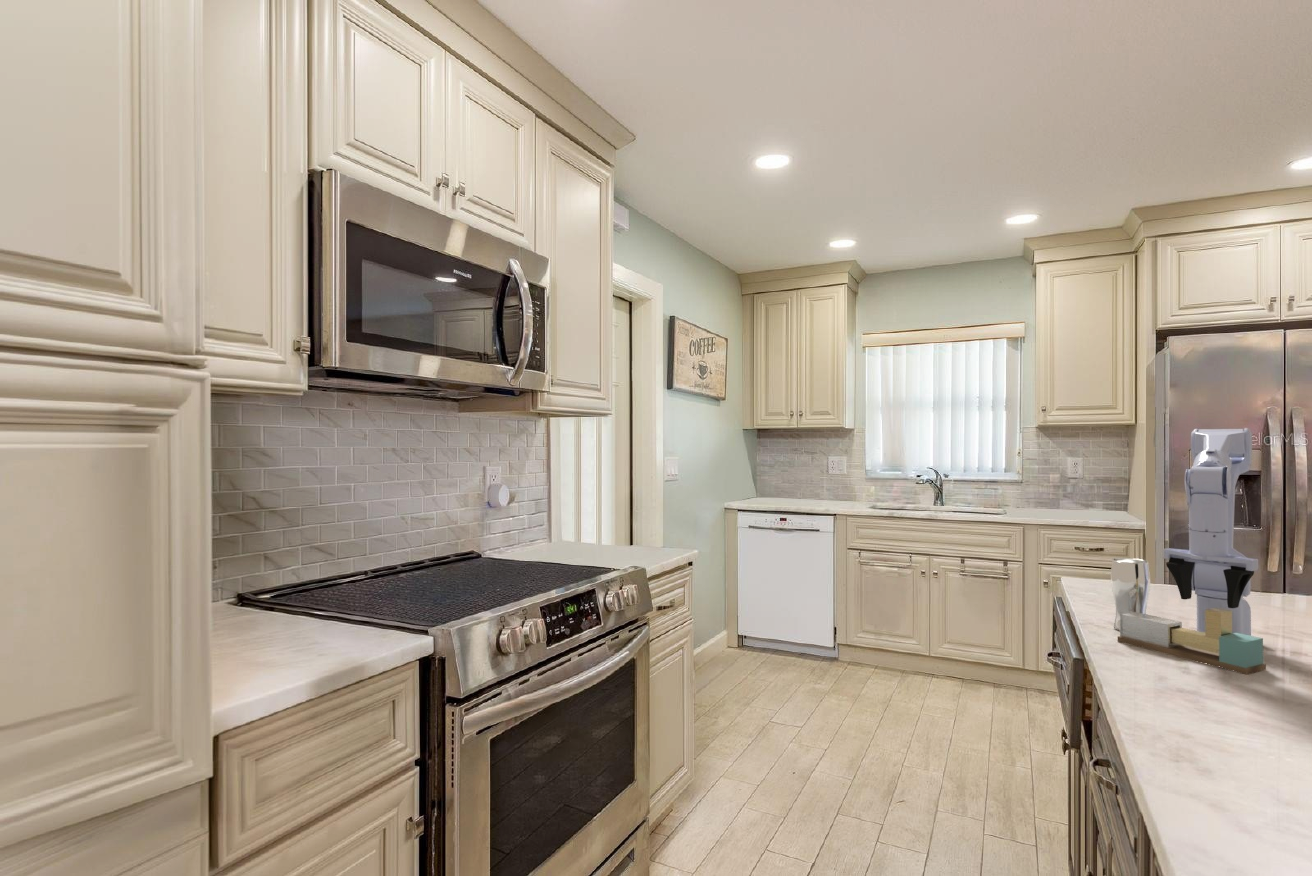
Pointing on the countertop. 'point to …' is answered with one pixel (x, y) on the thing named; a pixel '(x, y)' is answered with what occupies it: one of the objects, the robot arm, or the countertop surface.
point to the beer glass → (1129, 586)
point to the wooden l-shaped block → (1215, 626)
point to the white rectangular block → (1147, 628)
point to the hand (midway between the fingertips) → (1209, 603)
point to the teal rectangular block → (1241, 650)
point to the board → (1193, 655)
